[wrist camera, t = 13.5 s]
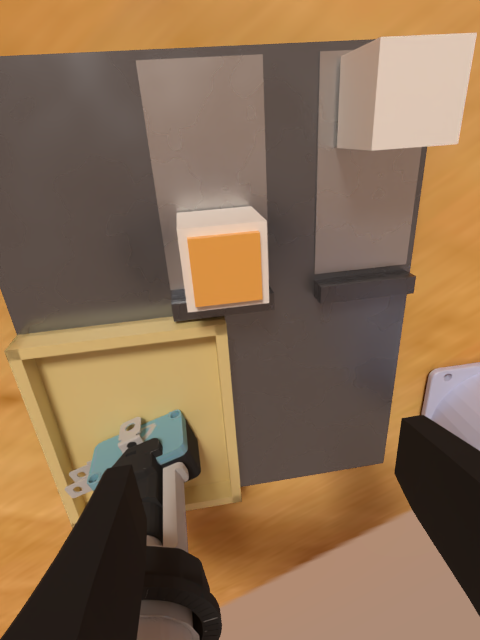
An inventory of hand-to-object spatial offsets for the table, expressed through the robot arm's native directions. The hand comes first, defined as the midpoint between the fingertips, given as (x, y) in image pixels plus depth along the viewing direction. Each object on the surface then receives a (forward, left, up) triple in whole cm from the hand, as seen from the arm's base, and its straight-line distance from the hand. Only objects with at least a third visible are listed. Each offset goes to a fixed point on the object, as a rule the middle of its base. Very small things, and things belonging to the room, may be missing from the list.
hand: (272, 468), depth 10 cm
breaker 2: (-6, -9, -8) cm, 14 cm away
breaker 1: (0, -4, -8) cm, 9 cm away
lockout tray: (+5, +5, -9) cm, 11 cm away
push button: (+6, +6, -9) cm, 12 cm away
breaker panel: (0, 0, -10) cm, 10 cm away
